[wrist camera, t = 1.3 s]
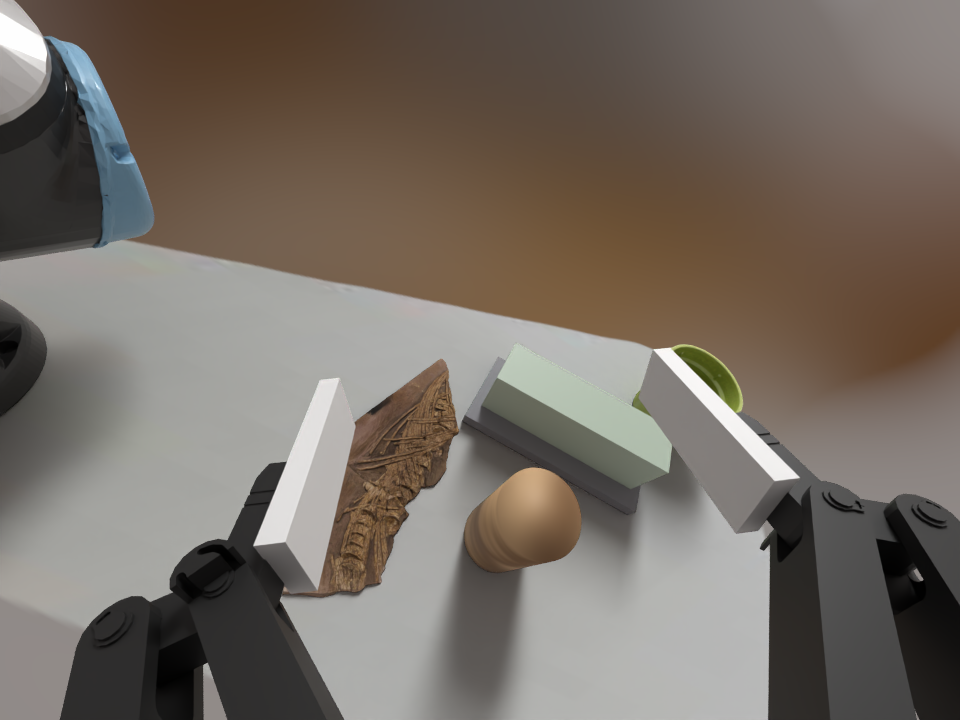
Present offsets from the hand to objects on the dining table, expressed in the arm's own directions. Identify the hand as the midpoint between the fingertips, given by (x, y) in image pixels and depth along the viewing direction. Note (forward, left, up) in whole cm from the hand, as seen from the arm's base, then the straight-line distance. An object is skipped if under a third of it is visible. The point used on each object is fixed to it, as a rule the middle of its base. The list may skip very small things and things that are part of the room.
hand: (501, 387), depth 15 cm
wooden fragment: (-6, +2, -23) cm, 24 cm away
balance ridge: (+9, +13, -22) cm, 28 cm away
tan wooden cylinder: (+7, 0, -22) cm, 23 cm away
